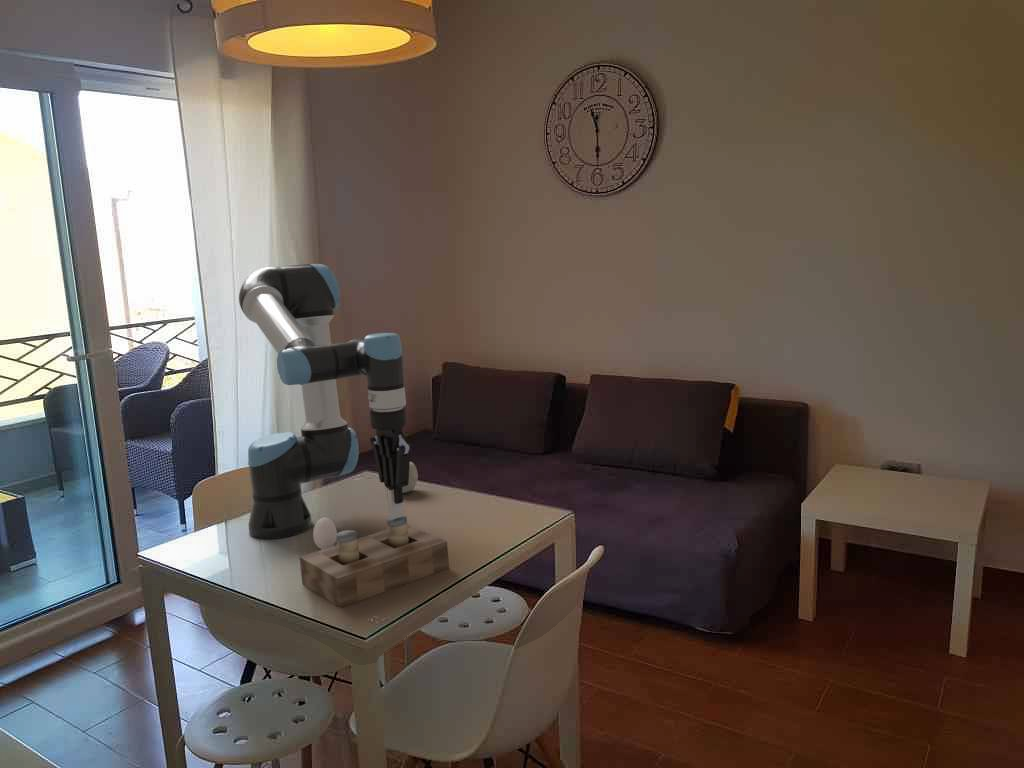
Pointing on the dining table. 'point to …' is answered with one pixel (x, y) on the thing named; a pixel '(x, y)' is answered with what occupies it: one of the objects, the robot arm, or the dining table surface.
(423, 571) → the walnut board
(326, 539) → the egg
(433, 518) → the dining table surface
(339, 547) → the dowel
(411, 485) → the decorative object
